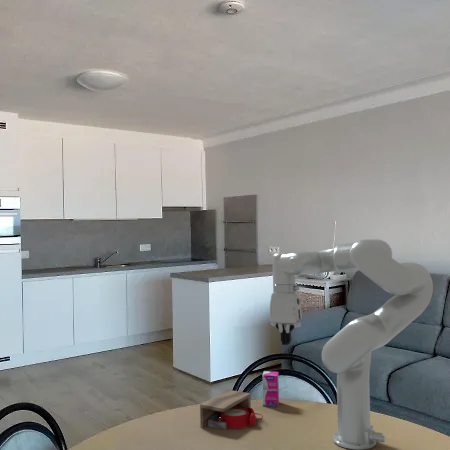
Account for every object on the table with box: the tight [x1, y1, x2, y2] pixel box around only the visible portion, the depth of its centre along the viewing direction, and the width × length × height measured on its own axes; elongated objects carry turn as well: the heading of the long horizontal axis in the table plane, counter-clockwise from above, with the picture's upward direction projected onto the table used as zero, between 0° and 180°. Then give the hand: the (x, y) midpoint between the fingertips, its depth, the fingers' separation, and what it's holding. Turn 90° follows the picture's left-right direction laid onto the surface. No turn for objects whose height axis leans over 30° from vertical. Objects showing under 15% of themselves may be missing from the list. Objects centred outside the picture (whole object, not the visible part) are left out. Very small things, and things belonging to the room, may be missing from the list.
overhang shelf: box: [199, 389, 252, 431], centre depth 163 cm, size 9×18×8 cm, turn 149°
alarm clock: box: [217, 407, 264, 429], centre depth 161 cm, size 10×6×15 cm
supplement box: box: [262, 370, 280, 407], centre depth 180 cm, size 6×6×12 cm
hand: (286, 344), depth 162 cm, fingers closed
